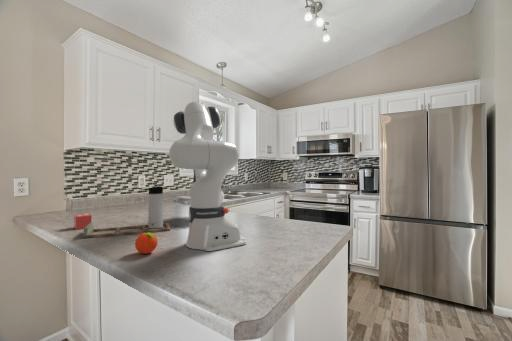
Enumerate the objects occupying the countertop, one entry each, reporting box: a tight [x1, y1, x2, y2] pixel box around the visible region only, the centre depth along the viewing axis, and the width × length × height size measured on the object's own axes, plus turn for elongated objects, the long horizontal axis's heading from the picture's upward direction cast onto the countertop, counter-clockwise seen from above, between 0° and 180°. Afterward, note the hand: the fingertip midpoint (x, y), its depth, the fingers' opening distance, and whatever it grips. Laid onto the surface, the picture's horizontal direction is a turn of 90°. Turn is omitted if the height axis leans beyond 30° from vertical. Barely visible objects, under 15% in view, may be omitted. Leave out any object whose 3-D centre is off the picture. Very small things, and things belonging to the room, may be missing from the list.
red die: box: [73, 213, 92, 231], centre depth 118 cm, size 6×6×6 cm
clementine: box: [134, 232, 158, 255], centre depth 83 cm, size 8×7×7 cm
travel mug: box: [148, 186, 164, 230], centre depth 116 cm, size 6×7×20 cm
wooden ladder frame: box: [83, 222, 171, 239], centre depth 112 cm, size 33×12×4 cm, turn 113°
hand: (178, 202), depth 126 cm, fingers open, 8 cm apart
